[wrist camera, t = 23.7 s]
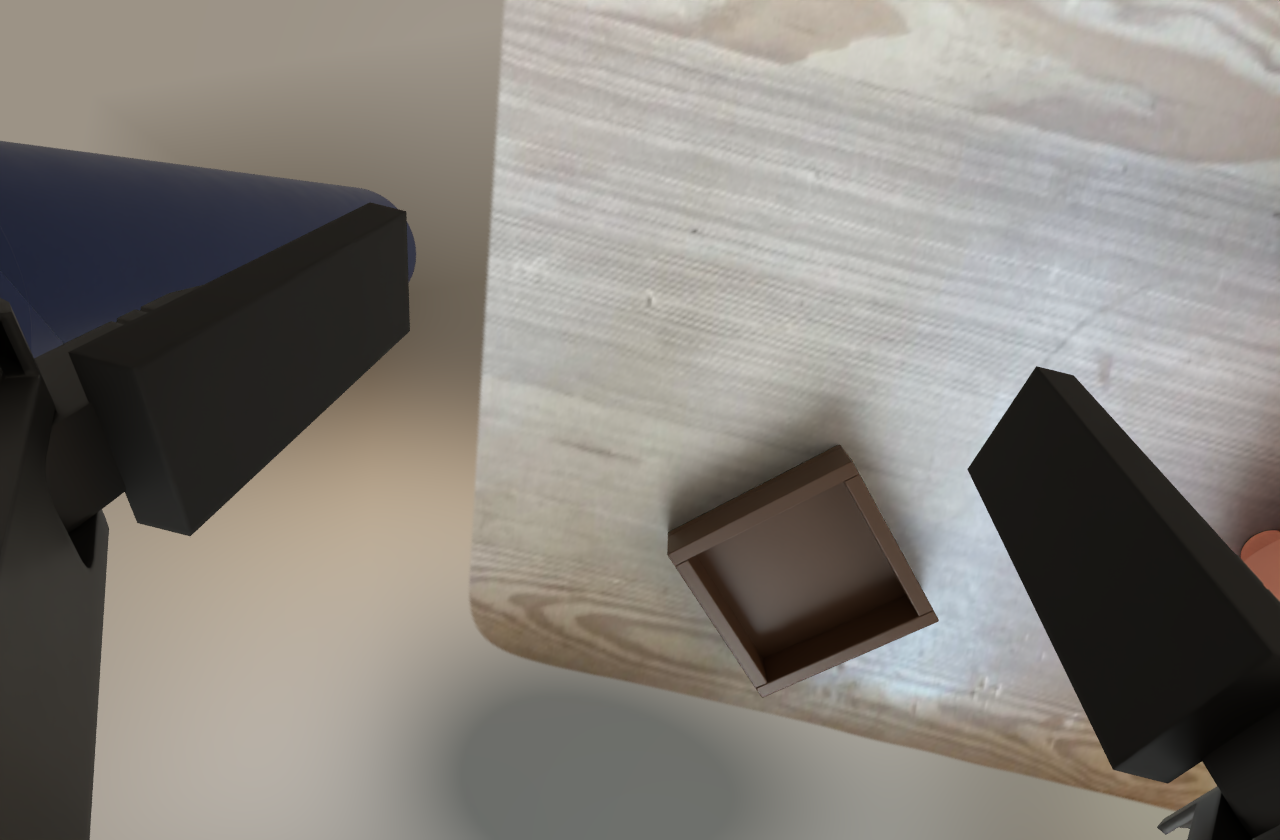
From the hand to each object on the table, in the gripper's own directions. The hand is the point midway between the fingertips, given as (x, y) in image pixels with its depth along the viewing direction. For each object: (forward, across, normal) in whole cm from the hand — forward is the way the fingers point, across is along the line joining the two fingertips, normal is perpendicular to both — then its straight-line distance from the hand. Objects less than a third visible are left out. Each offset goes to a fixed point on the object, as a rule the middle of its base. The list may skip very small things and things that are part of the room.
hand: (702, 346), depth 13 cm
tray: (+13, +9, -19) cm, 25 cm away
